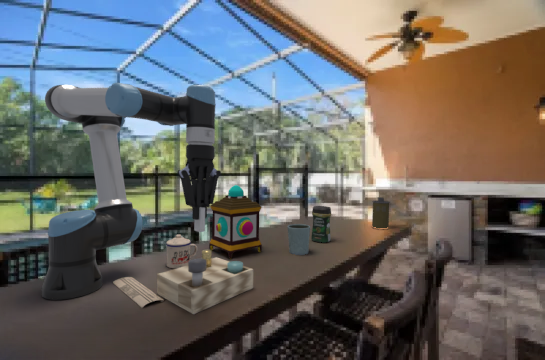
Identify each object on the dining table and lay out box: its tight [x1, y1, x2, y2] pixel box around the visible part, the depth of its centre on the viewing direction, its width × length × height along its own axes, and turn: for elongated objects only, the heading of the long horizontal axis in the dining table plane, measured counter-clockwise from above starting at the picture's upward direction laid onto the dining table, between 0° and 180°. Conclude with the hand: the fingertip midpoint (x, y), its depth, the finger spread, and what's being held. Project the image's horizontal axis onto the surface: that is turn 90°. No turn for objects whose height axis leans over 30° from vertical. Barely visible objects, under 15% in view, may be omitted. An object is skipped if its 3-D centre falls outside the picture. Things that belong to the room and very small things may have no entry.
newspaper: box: [112, 276, 165, 309], centre depth 87 cm, size 24×7×2 cm, turn 46°
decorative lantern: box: [208, 184, 263, 260], centre depth 130 cm, size 20×20×30 cm
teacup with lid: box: [165, 234, 198, 269], centre depth 112 cm, size 12×9×12 cm
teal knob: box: [227, 260, 244, 274], centre depth 90 cm, size 5×5×6 cm
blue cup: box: [286, 223, 311, 256], centre depth 131 cm, size 10×10×12 cm
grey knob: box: [188, 258, 206, 286], centre depth 79 cm, size 5×5×6 cm
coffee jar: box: [311, 205, 332, 244], centre depth 152 cm, size 10×8×19 cm
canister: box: [371, 196, 391, 228], centre depth 188 cm, size 11×10×20 cm
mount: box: [156, 256, 254, 315], centre depth 88 cm, size 22×18×6 cm
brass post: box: [201, 248, 213, 268], centre depth 93 cm, size 3×3×5 cm
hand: (199, 230), depth 80 cm, fingers closed
